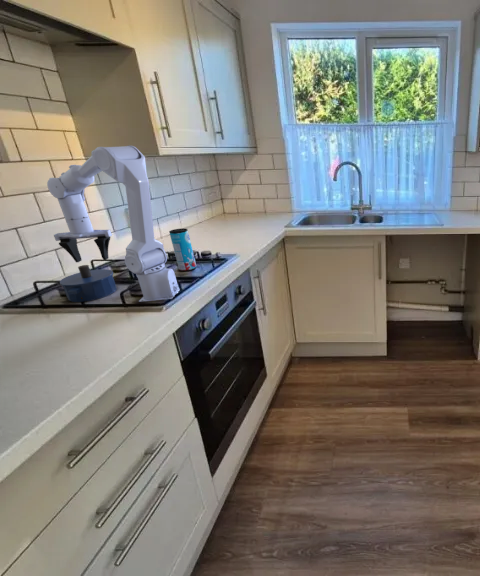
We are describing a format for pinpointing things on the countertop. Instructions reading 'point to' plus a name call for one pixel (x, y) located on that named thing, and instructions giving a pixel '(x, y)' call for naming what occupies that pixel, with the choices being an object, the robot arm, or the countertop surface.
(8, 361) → the countertop surface
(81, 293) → the tin
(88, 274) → the tin lid
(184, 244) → the beverage can
